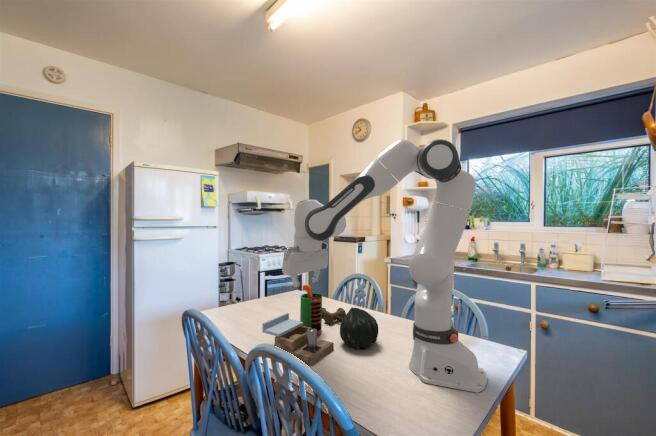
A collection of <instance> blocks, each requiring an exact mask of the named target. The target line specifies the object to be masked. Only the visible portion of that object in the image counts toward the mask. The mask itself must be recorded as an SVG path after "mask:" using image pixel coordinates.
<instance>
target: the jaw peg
mask: <svg viewBox="0 0 656 436" xmlns="http://www.w3.org/2000/svg"><path fill="white" fill-rule="evenodd" d="M317 339H318V336H317V329H315V328H309V329H307V351H309V352H312V353H315V352H316V351H317Z"/></svg>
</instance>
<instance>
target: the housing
mask: <svg viewBox="0 0 656 436" xmlns="http://www.w3.org/2000/svg"><path fill="white" fill-rule="evenodd" d="M309 328H310V327H306V326H300V327H298V328H296V329H294V330H292V331H290V332H288V333H286V334H284V335H282V336H280V337H277V336H274V347H275V346H277V347H279V348H281V349H283V350H285V351H287V352H289V353H291V354H293V355H294V356H296V357H297V358H299V359H300V360H302V361H303V362H305V363H306V364H305V365H307V366H309V367H310V366H313V365H314V364H316V363H317V362H318V361H320V360H321V359H322V358H324V357H326V356H327V355H328V354H330V353H331V352H332V351H334V347H335V346H334V342H332V341H328V340H324V339H321V338H317V351H316V352H315V353H312V352H309V351H307V329H309Z"/></svg>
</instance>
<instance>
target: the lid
mask: <svg viewBox="0 0 656 436" xmlns="http://www.w3.org/2000/svg"><path fill="white" fill-rule="evenodd" d="M302 325H303V322H300V320H296V319H292V318H290V313H288V312H286V313H284V314H281V315H279V316H277V317H274V318H273V319H270V320H267V321H265V322H263V323H262V333H264V334H268V335H271V336H274V337H276V336H277V337H280V336H282V335H284V334H286V333H288V332H290V331H292V330H294V329H296V328H298V327H300V326H302Z"/></svg>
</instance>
